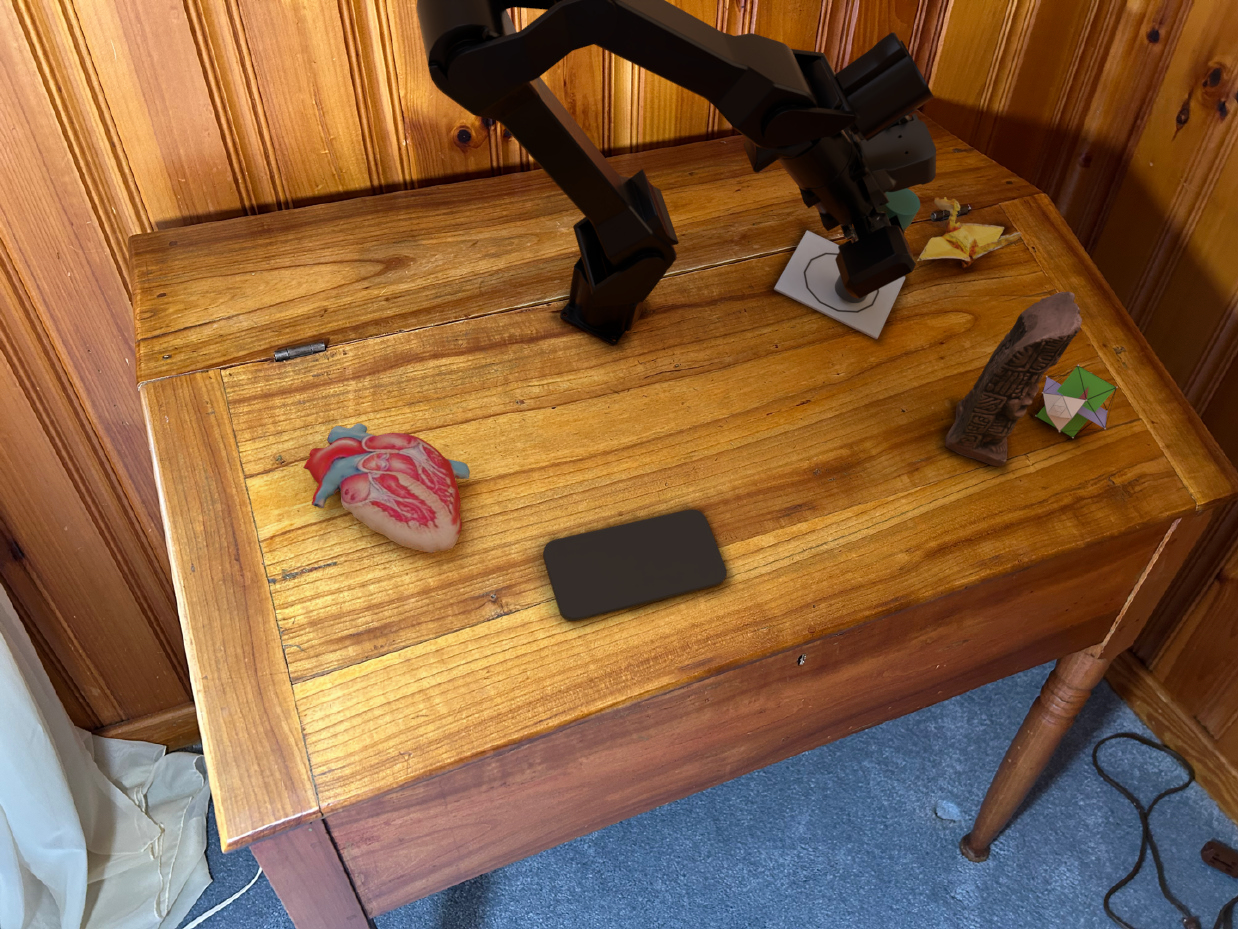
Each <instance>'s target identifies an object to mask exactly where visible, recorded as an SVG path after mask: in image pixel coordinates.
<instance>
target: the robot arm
mask: <svg viewBox="0 0 1238 929" xmlns="http://www.w3.org/2000/svg"><path fill="white" fill-rule="evenodd" d="M513 8H518V9H529V10H530V9H531V10H542V11H543V10H544V12H543V13H542V14H541V15H539V16H538V17H537V18H535V19H534V20H533V21H531V22H530V23H529V24H528V25H526V26H525V27H524V28H522V29H521V30H519V31H517V29H516V27H515V25H514V23H513V20H512V18H511V16H510V14H509V12H508V10H509V9H513ZM415 9H416V14H417V20H418V24H419V29H420V34H421V38H422V44H423V49H424V53H425V58H426V62H427V67H428V73H429V76H430V78H431V81H432V82H433V84H434V85H435V87H436V88H437V89H438V90H439V91H440V92H441V93H442V94H443V95H445V96H446V97H447V98H449V99H450V100H452V101H453V102H454V103H456V104H457V105H458V106H460V107H461V108H463V109H464V110H465V111H466V112H468V113H469V114H470V115H473V116H474V117H479V118H483V119H487V120H492V121H495V122H497V123H499V124H501V125H502V126H503V128H505V130H506V131H507V132H508V134H510V135H511V136H512V137H513V138H514V140H515V141H516V142H517V143H518V145H519V146H521V147H522V148H523V149H524V151H526V152H527V154H528V155H529V156H530V157H531V159H532V160H533V161H534V162H536V164H537V165H538V166H539V167H540V168H541V169H542V170H543V171H544V172H545V173H546V175H547V176H548V177H549V178H550V179H551V180H552V181H553V182H554V184H555V185H556V186H557V187H558V188H559V189H560V190H561V192H563V193H564V195H565V196H567V198H568V199H569V200H570V201H571V202H572V203H573V204H574V205H575V207H576V208H577V209H578V210H579V211H580V212H581V213H582V215H584V217H583V218H581V219H580V220H579V221H577V222H576V223H575V224H573V226H572V228H573V232H574V235H575V239H576V242H577V246H578V250H579V253H580V257H579V258H578V259H577V261H576V262H575V264H574V265H573V270H572V275H571V283H570V289H569V296H568V300H567V302H566V304H565V306H564V307H563V308H562V310H561V311H560V313H559V318H560V320H561V321H563V322H565V323H567V324H569V325H571V326H573V327H575V328H577V329H579V330H581V331H582V332H584V333H587V334H589V335H590V336H592V337H595V338H596V339H599V340H601V341H602V342H605V343H607V344H609V345H611V346H617V345H618V344H619V343H620V341H621V340H622V338H623V337H624V335H625V334H626V333H628V332H631V331H632V329H633V328H634V327H635V325H636V323H637V322H638V321H639V319H640V318H641V316H642V312H643V308H644V305H645V301H646V300H647V298H648V297H649V296H650V294H651V293H652V292H653V291H654V289H655V288H656V287H657V285H658V284H659V282H660V281H661V280H662V279H663V277H665V274H666V273H667V271H668V270H669V269H670V268H671V267H672V266H673V265H674V262H675V261H677V257H678V256H677V255H678V254H677V252H676V249H675V246H676V245H679V243H680V242H679V239H678V236H677V233H676V231H675V228H674V225H673V222H672V219H671V216H670V214H669V210H668V207H667V205H666V202H665V198H664V196H663V193H662V190H661V189H660V188H658V187H656V186H655V185H653V184H652V183H651V182H650V181H649V179H648V177H647V175H646V172H645V170H644V168H642V169H640V170H639V171H638V172H636V173H635V174H634V175H632V176H624V175H621V174H619V173H618V172H617V171H616V170H615V169H614V167H613V166H612V165H611V164H610V162H609V161H608V160H607V158H605V156H604V155H603V154H602V152H601V151H600V150H599V148H598V147H597V146H596V145H595V143H593V141H592V139H590V137H589V136H588V135H587V133H586V132H585V131H584V130H583V129H582V127H581V126H580V125H579V124H578V122H577V121H576V120H575V119H574V118H573V116H572V115H571V113H570V112H569V111H568V109H566V107H565V106H564V105H563V104H562V102H561V101H560V100H559V98H558V97H557V96H556V94H554V93H553V91H552V90H551V89H550V87H549V86H548V85H547V84H546V82H545V81H544V80H543V79H542V77H541V76H543V75H544V74H545V73H546V72H548V71H549V70H550V69H551V68H553V67H554V66H555V65H556V64H558V63H559V62H560V61H562V60H563V59H564V58H565V57H567V56H568V55H570V54H571V53H572V52H574V51H576V50H577V51H578V50H580V49H584V48H586V47H590V46H593V45H594V46H596V47H598V48H601V49H602V50H604V51H607V52H608V53H610V54H613V55H615V56H617V57H619V58H621V59H623V60H625V61H627V62H629V63H631V64H633V65H635V66H637V67H639V68H641V69H644V70H646V71H648V72H650V73H652V74H654V75H656V76H658V77H660V78H661V79H664V80H666V81H668V82H670V83H672V84H674V85H676V86H678V87H681V88H683V89H685V90H687V91H689V92H690V93H693V94H694V95H697V96H699V97H701V98H702V99H704V100H706V101H707V102H709V103H710V104H711V105H712V106H713V107H715V109H716V110H717V111H718V113H720V115H722V117H723V118H724V119H725V120H726V121H727V122H728V123H729V124H730V126H731V127H732V128H733V129H734V130H735V131H737V132H738V133H739V134H740V135H742V136H743V137H744V138H745V140H744V142H743V148H744V150H745V153H746V155H747V159H748V161H749V163H750V166H751V168H752V171H753V172H754V173H756V174H758V173H760V172H762V171H763V170H765V169H766V168H768V167H769V166H771V165H773V164H774V163H775V162H778V163H779V165H780V166H781V167H782V168H783V169H784V171H785V172H786V173H787V174H788V175H789V176H790V178H791V179H792V180H793V182H794V183H795V184H796V185H797V186H798V189H799V192H800V195H801V198H802V202H803V204H804V205H805V206H806V207H807V209H811V208H813V207H814V208H816V210H817V211H818V215H819V218H820V221H821V224H822V227H823V228H824V229H825V231H826V232H830V231H833V229H835V228H837V227H839V226H840V229H841V232H842V236H843V237H844V239H845V240H846V241H845V242H843V243H841V244H840V245H839V246H838V249H839V253H838V255H837V257H836V259H835V261H836V264H837V267H838V270H839V273H840V276H841V279H842V282H843V285H844V288H845V289H846V290H847V291H848V292H849V293H850V295H851V296H852V297H855V298H859V299H860V298H862V297H864V296H866V295H868V294H870V293H872V292H874V291H876V290H878V289H880V288H882V287H884V286H886V285H888V284H890V283H892V282H893V281H895V280H897V279H899V278H901V277H903V276H905V277H906V276H907V275H909V274H911V273H913V271H914V269H915V267H916V266H917V262H916V260H915V257H914V254H913V252H912V249H911V247H910V244H909V242H908V240H907V238H906V236H905V232H903V229H902V226H901V224H900V221H899V219H898V216H897V215H895V216H893V217H891V218H888V216H887V215H886V213H884V212H878V211H877V209H878V208H880V207H882V206H883V205H885V204H887V203H889V200H888V197H887V195H886V193H885V192H896V191H899V190H902V189H906V188H907V189H910V188H912V187H915V186H919V185H922V186H924V185H927V184H930V183H931V182H933V181H934V180H935V178H936V176H937V175H936V174H937V147H936V145H935V142H934V140H933V138H932V135H931V133H930V131H929V128H928V126H927V124H926V123H925V121H923V120H920V119H919V117H918V115H917V113H913V112H914V111H916V110H918V109H919V108H920V107H922V106H924V105H926V104H927V103H928V102H930V101H932V100H933V99H934V98H935V95H933V92H932V90H931V89H930V87H929V85H928V83H927V81H926V80H925V77H924V76H923V74H922V72H921V71H920V69H919V67H918V66H917V64H916V62H915V60H914V59H913V57H912V55H911V53H910V52H909V50H908V48H907V46H906V44H905V42H904V41H903V40H902V39H901V40H900V39H899V36H898V35H897V33H896V32H893V31H892V32H890V33H889V34H887V35H886V36H884V37H883V38H881V39H880V40H879V41H878V42H876V44H875V45H873V47H872V48H870V49H869V50H867V51H866V52H864V53H863V54H862V55H860V56H859V57H858V58H856V59H855V60H853V61H852V62H851V63H849V64H847V65H846V66H845V67H843V68H842V69H841V70H839V71H837V72H835V70H834V69H833V67H832V66H831V64H830V62H829V59H828V57H827V56H826V54H825V53H824V52H820V51H814V50H804V49H796V48H791V47H789V46H788V45H787V44H786V43H784V42H781V41H778V40H777V39H776V40H775V39H772V38H769V37H767V36H764V35H763V36H762V35H760V34H756V33H753V32H749V33H742V34H738V35H737V34H736V35H733V34H730V33H728V32H727V33H726V32H724V31H721V30H719V29H717V28H716V27H714V26H712V25H710V24H708V23H707V22H705V21H703V20H701V19H699V18H697V17H695V16H694V15H692V14H690V13H689V12H687V11H685V10H683V9H681V8H680V7H678V6H676V5H674V4H673V3H671V2H669V1H667V0H416V8H415ZM545 10H546V11H545ZM912 113H913V114H912ZM909 115H911V116H909Z"/></svg>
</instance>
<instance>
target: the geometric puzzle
mask: <svg viewBox="0 0 1238 929" xmlns="http://www.w3.org/2000/svg"><path fill="white" fill-rule="evenodd" d="M1068 369H1071V367H1070V368H1069V367H1068V368H1066V369H1065V371H1067V370H1068ZM1071 371H1072V372H1071ZM1058 373H1060V371H1058V372H1056V373H1054V375H1052V374H1050V375H1046V376H1045V382H1044V385H1043V389H1042V392H1041V396H1040V400H1039V404H1038V408H1037V411H1036V414H1035V417H1036V418H1038V419H1040V420H1041V421H1042V422H1044V423H1045V424H1046V425H1048V426H1050V427H1051V428H1053V429H1054V430H1056V431H1057V432H1058V433H1061V434H1064V435H1065V436H1067V437H1070V438H1072V439H1074V438H1075V437H1080V436H1081V434H1080V433H1081V432H1083V431H1085V430H1086V428H1088V427H1089V426H1090V425H1092V424H1093V423H1094V424H1095V425H1098V426H1100V427H1101V428H1100V429H1097V432H1098V431H1102V430H1107V424H1108V420H1109V416H1110V413H1111V409H1112V406H1113V401H1114V399H1115V395H1116V392H1117V389H1118V388H1119V387H1118V386H1115V385H1113V384H1112V383H1110V382H1108V381H1107V380H1105V379H1103V378H1102V377H1099V376H1098V375H1096V374H1094V373H1093V372H1091V371H1089V370H1087V369H1085V368H1083V367H1082V366H1080V364H1077V365H1076V366H1073V368H1072V369H1071V370H1070V371H1069V372H1067V373H1065V374H1061V375H1059V377H1060V379H1058V380H1057V381H1055V380H1054V379H1052V378H1054V377H1056V374H1058ZM1069 373H1070V374H1069ZM1067 376H1068V377H1067ZM1064 377H1066V379H1065V380H1064V381H1063V382H1062V384H1060V383H1059V381H1060V380H1062V379H1063V378H1064ZM1111 395H1112V398H1111V400H1110V402H1109V404H1108V407H1107V406H1106V404H1105V402H1106V401H1107V399H1108V398H1109V397H1110V396H1111ZM1042 399H1043V402H1044V406H1043V407H1042V408H1041V409H1040V411H1039V408H1040V405H1041V402H1042ZM1102 405H1104V408H1105V409H1104V408H1103V407H1101V406H1102ZM1109 407H1110V408H1109ZM1088 421H1091V422H1090V423H1089V424H1088V425H1086V423H1087V422H1088ZM1084 425H1086V426H1085V427H1084ZM1092 430H1095V431H1093V433H1095V432H1096V428H1095V429H1094V428H1092V429H1089V431H1092ZM1090 433H1092V432H1086V435H1088V434H1090ZM1078 434H1079V435H1078ZM1083 435H1085V433H1083V434H1082V436H1083Z"/></svg>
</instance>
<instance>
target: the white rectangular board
mask: <svg viewBox="0 0 1238 929" xmlns="http://www.w3.org/2000/svg"><path fill="white" fill-rule="evenodd" d="M838 246H840V245H839V244H837V243H835V242H833V241H831V240H828V239H827V238H824V237H822V236H820V235H818V234H816V233H814V232H812V231H810V230H806V231H805V234H803V237H802V238H801V239H800V242H799V243H798V246H797V247H796V249H795V250H794V252H793V254H792V256H791V258H790V259H789V261H788V263H787V264H786V266H785V268H784V270H783V271H782V274H781V275H780V277H779V278H778V280H777V282H776V284H775V286H774V288H773V290H774V291H775V292H777V293H780V294H781V295H784V296H786V297H788V298H790V299H792V300H794V301H796V302H798V303H801V304H803V305H804V306H806V307H809V308H810V309H813V310H815V311H817V312H819V313H821V314H823V315H825V316H827V317H828V318H831V319H834V320H836V321H838V322H839V323H841V324H844V325H846V326H848V327H850V328H852V329H854V330H856V331H858V332H860V333H862V334H865V335H867V336H868V337H871V338H873V339H874V340H878V338H879V337H880V334H881V332H882V330H883V328H884V326H885V324H886V321H887V319H888V317H889V315H890V312H891V310H892V308H893V306H894V304H895V302H896V300H897V297H898V295H899V293H900V291H901V288H902V286H903V284H904V282H905V280H906V275H905V276H903V277H901V278H899V279H897V280H895V281H893V282H892V283H890V284H888V285H886V286H884V287H882V288H880V289H878V290H876V291H874V292H872V293H870V294H868V296H867V297H866V299H865V300H864V301H862V302H860V303H849V302H847V301H844V300H843V299H841V298H840V297H839V296H838V295H837V293H836V291H835V283H836V281H837V279H838V277H839V275H840V273H839V270H838V267H837V264H836V261H835V259H836V257H837V255H838V253H839V249H838Z"/></svg>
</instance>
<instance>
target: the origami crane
mask: <svg viewBox="0 0 1238 929" xmlns="http://www.w3.org/2000/svg"><path fill="white" fill-rule="evenodd" d="M933 202H934V205H935V207H936V208H937V209H939V210H941V211H945V210H946V211H947V212H949V214H950V215H949V217H948V219H947V223H946V231H945V233H944V234H943V235H941V236H935V237H934V236H933V237H931V238H929V240H928V242H927V244H926V245H925V247H924V249H923V250H922V252H921V253H920V255H919V257H918V258H917V260H916V261H917V262H918V261H919V262H923V261H924V260H927V261H928V260H938V259H958V260H959V259H960V260H961V267H962V268H967V267H970V266H971V264H972V263H974V262H975V261H976V260H977V259H978V258H980V257H982V256H984V255H985V254H988V253H990V252H992V251H995V250H998V249H1000V248H1002V247H1004V246H1006V245H1008V244H1010V243H1014V242H1016V241H1017V240H1018V239H1019V238H1021V237H1022V232H1013V234H1011V235H1010V234H1006V235H1002V234H1003V232H1004V230H1005V227H1004V226H999V225H994V224H992V225H991V224H990V225H989V224H981V223H970V222H967V223H963V222H962V223H961V222H960V221H958V222H956V220H957V218H958V217H957V215H958V214H959V213H958V211H960V210H961V205H960V203H959V201H957V199H956V198H952V199H951V200H949V199H947V197H946V196H944V197H943V198H940V197H937V196H936V197H935V198H934V200H933ZM963 260H964V262H963Z"/></svg>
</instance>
